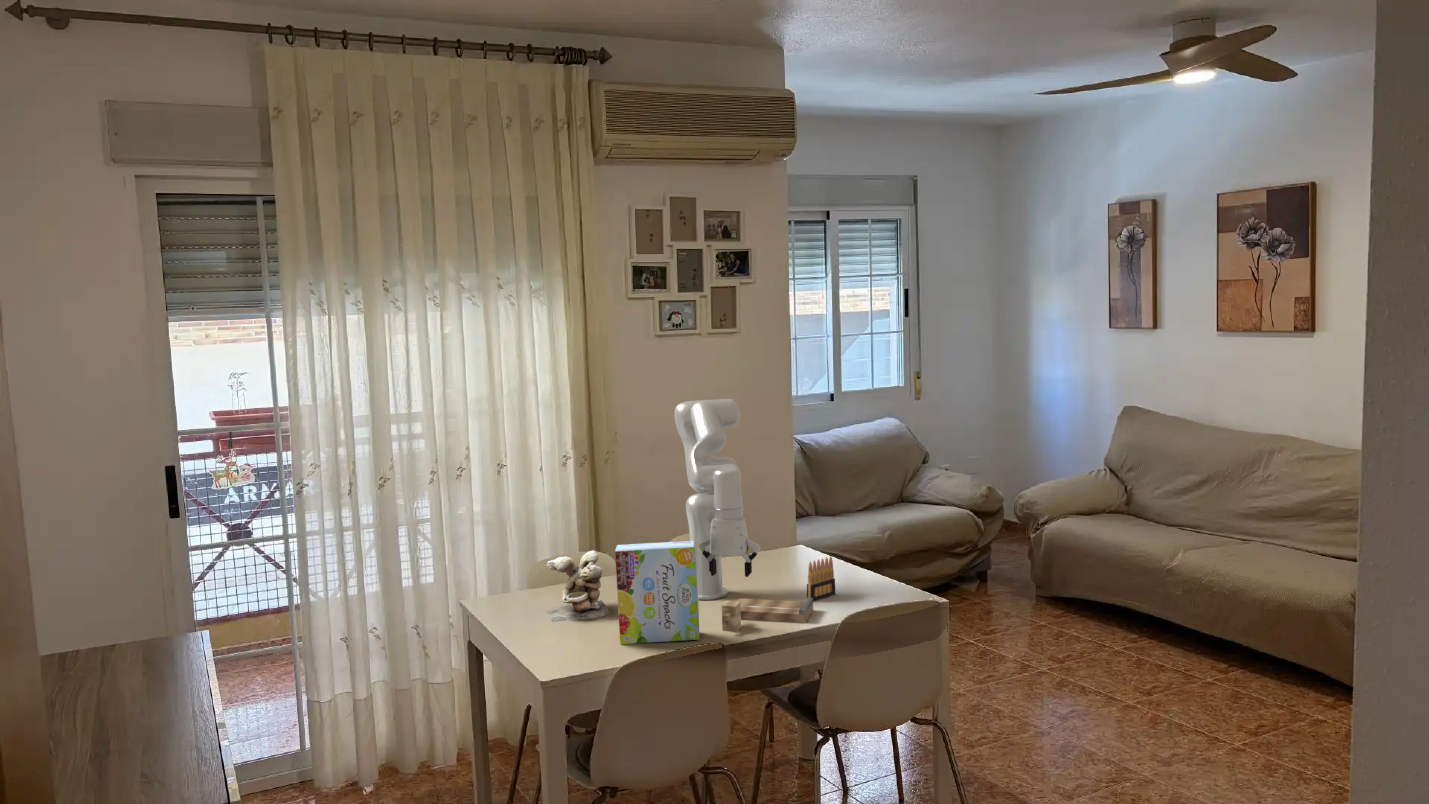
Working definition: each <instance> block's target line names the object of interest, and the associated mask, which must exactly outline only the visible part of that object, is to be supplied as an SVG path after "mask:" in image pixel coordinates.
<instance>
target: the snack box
mask: <svg viewBox="0 0 1429 804" xmlns="http://www.w3.org/2000/svg"><path fill="white" fill-rule="evenodd" d="M614 555H615V575H616V576H615V577H616V591H617V593H616V594H617V595H616V596H617V612H618V614H617V615H618V628H619V630H618V631H619V644H620V645H629V644H630V645H632V644H646V643H647V644H648V643H649V644H650V643H661V642H678V641H682V642H683V641H695V640H696V641H697V640H700V613H699V611H700V610H699V609H700V608H699V600H698V585H697V568H696V554H695V543H694V541H690V540H685V541H684V540H683V541H666V542H664V541H663V542H646V543H644V542H643V543H629V544H617V545H616V547H615V551H614Z"/></svg>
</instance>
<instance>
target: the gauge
mask: <svg viewBox="0 0 1429 804" xmlns="http://www.w3.org/2000/svg"><path fill="white" fill-rule="evenodd" d="M721 622H722V623H721V627H722V629H721V630H722V631H724V632H726V631H727V632H737V631H738V630H739V629H740V628H741V627H742V619H741V605H740V601H738V600H726V601H724V602H723V604H722V605H721Z"/></svg>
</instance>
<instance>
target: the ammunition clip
mask: <svg viewBox="0 0 1429 804" xmlns="http://www.w3.org/2000/svg"><path fill="white" fill-rule="evenodd" d="M833 561H834V560H833V557H832V556H829V558H828V557H825V559H824V558H823V557H822V558H821V561H820V559H817V562H816V560H813V562H812V561H809V563H808V568H807V569H808V572H807V573H808V575H807V584H806V599H807V598H813V602H817V601H820V600H822V599H826V598H829V597H833V596H836V594H837V593H836V579H835V578H834V577H835V576H834V575H835V574H834V563H833ZM816 600H817V601H816Z"/></svg>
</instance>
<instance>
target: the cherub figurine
mask: <svg viewBox="0 0 1429 804" xmlns="http://www.w3.org/2000/svg"><path fill="white" fill-rule="evenodd" d="M599 558H600V556H599V554H598V553H597V552H596V550H590V551H587V552H586V553H585V554H583V555H582V557H581V559H580V560H579V561H580V562H579V565H578V564H577V562H575V560H574V559H573V558H572V557H569V556H559V557H557V558H555V559H552V560H549V561H547V563H546V567H549V570H552V571H557V572H558V573H565V574H566V575H567V576H568V578H567V579H568V580H567V581H566V583H565V585H564V588H563V590H562V602H563V603H564V605H561V606H556V607H551V608H547V610H544V611H545V613H546V614H547V616H548V618H549V619H550V621H551V622H552V623H556V622H563V621H576V620H577V621H579V620H589V619H596V618H597V619H598V618H600V619H601V618H605V617H606V616H608V615H609V614H610V612H609V608H608V607H607V605H606V604H605V602H604V600H599V598H600V595H601V593H600V588H601V578H602V575H603V570H602V568H601V567H600V566H599V565H598V564H596V563H597V562H598V560H599Z"/></svg>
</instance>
